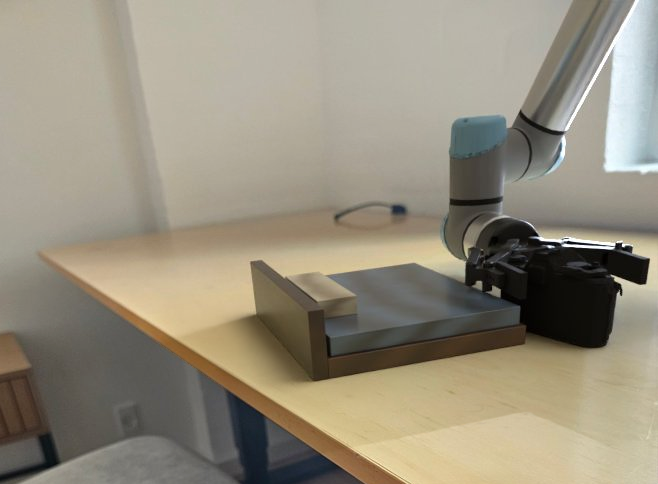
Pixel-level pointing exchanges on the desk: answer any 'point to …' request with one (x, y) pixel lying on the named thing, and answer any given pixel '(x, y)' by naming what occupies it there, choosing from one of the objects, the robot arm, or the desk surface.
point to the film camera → (566, 297)
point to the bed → (312, 333)
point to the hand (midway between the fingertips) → (585, 279)
